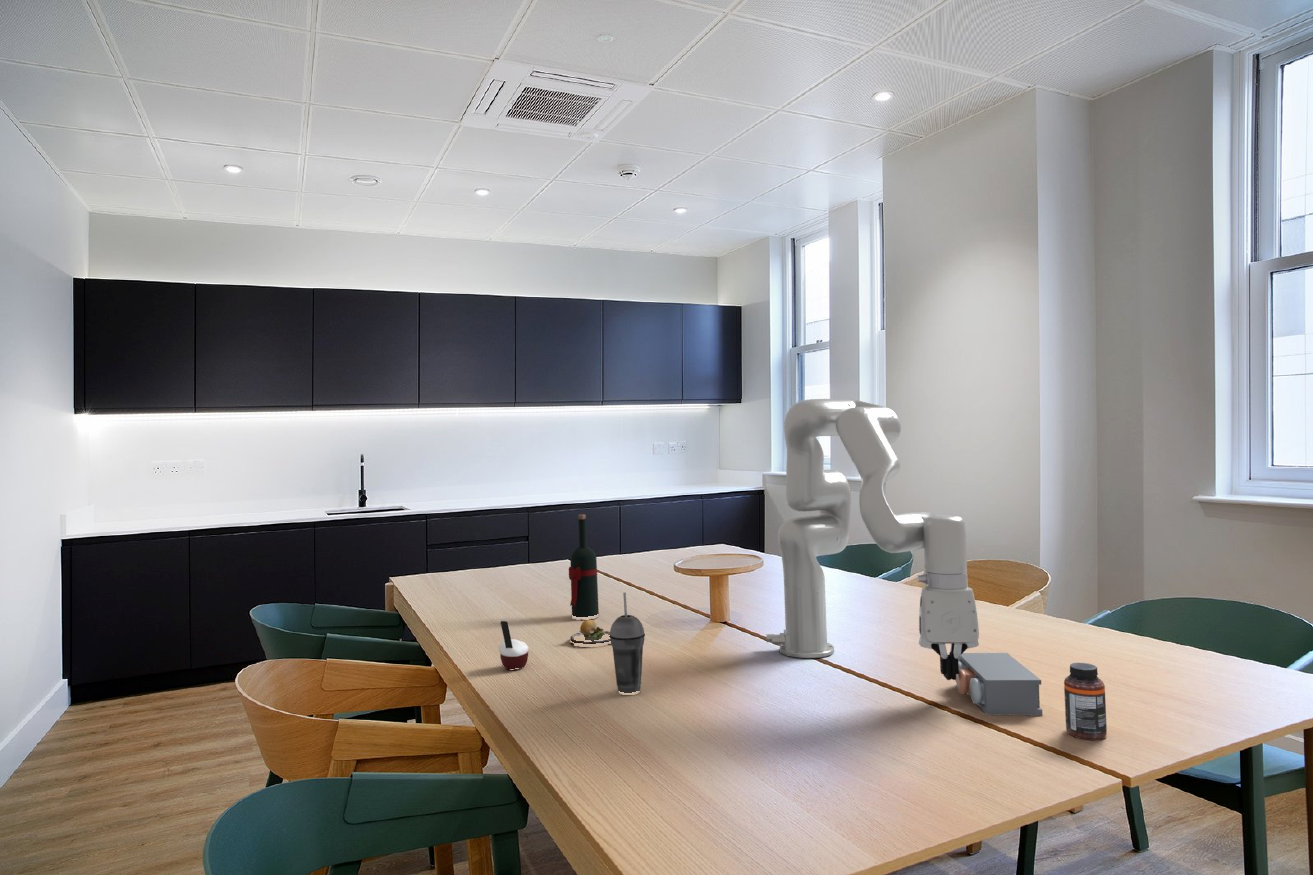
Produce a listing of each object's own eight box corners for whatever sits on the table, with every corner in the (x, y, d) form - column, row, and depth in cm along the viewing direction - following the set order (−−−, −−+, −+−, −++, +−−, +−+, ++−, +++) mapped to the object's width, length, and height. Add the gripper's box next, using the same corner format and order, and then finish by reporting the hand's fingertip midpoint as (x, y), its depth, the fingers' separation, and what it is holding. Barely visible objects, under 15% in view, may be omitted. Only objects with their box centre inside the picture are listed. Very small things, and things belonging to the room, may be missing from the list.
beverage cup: (615, 699, 156) (612, 598, 156) (607, 689, 163) (604, 591, 163) (651, 695, 158) (647, 595, 158) (642, 685, 165) (638, 588, 165)
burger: (622, 645, 199) (621, 615, 199) (577, 651, 195) (576, 620, 195) (608, 635, 211) (607, 606, 211) (564, 640, 206) (563, 611, 206)
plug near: (977, 707, 142) (976, 682, 142) (970, 699, 147) (969, 675, 147) (1029, 707, 141) (1028, 682, 141) (1020, 699, 146) (1019, 675, 146)
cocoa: (518, 661, 186) (516, 610, 186) (538, 665, 182) (536, 613, 182) (488, 672, 178) (486, 618, 178) (507, 676, 175) (505, 621, 175)
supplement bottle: (1070, 725, 135) (1067, 658, 135) (1110, 732, 131) (1107, 663, 131) (1062, 736, 130) (1059, 667, 130) (1103, 744, 126) (1100, 672, 126)
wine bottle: (561, 620, 228) (558, 516, 228) (582, 613, 237) (578, 513, 237) (583, 623, 224) (580, 517, 224) (604, 615, 233) (600, 513, 233)
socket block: (987, 715, 141) (986, 680, 141) (959, 684, 159) (958, 653, 159) (1042, 715, 140) (1041, 680, 140) (1008, 684, 158) (1006, 652, 158)
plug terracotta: (962, 697, 148) (961, 673, 148) (956, 689, 152) (955, 666, 152) (1013, 697, 147) (1012, 673, 147) (1005, 689, 151) (1004, 666, 151)
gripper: (909, 585, 147) (913, 684, 147) (993, 583, 146) (997, 684, 146) (901, 578, 155) (905, 672, 155) (981, 576, 153) (984, 672, 153)
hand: (949, 677), depth 150 cm, fingers closed
